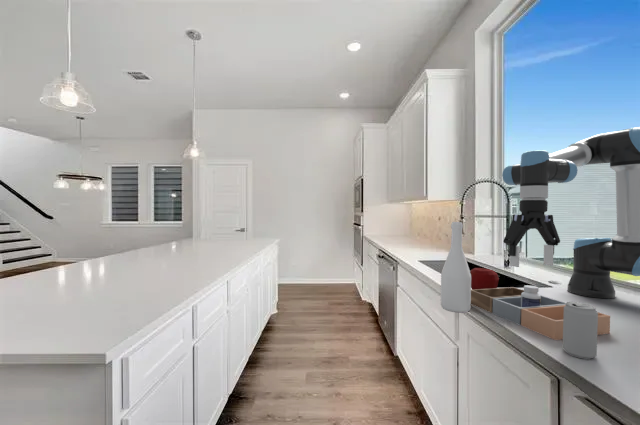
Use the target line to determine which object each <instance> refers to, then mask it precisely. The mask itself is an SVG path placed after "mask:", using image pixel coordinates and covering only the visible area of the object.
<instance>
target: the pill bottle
mask: <svg viewBox="0 0 640 425" xmlns="http://www.w3.org/2000/svg"><path fill="white" fill-rule="evenodd" d="M523 290H524V292H522V293H521V307H531V306H541V296H540V295H541V294H539V291H540V289H539V287H538V286H535V285H528V284H527V285H525V284H524V285H523Z"/></svg>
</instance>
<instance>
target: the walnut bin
mask: <svg viewBox="0 0 640 425" xmlns="http://www.w3.org/2000/svg"><path fill="white" fill-rule="evenodd" d="M522 292H524V289H521V288H518V287H514V286H510V287H509V286H508V287H497V288H491V289H475V290H472V289H471V305H472V306H474V307H476V308H478V309H481V310H483V311H486V312H488V313H490V314H493V298H505V297H519V296H521V293H522Z"/></svg>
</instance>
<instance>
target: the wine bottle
mask: <svg viewBox="0 0 640 425" xmlns="http://www.w3.org/2000/svg"><path fill="white" fill-rule="evenodd" d="M450 228H451V239H450V240H451V242H450V248H449V251H448V254H447V256H446V259H445V262H444V265H443V268H442V270H441V274H440V306H441V308H442V309H443V310H445V311H447V312H450V313H456V314H457V313H458V314H459V313H460V314H462V313H463V314H465V313H468V312H470V310H471V305H472V304H471V290H472V288H471V273H470V271H471V270H470V267H469V264H468V261H467V258H466V255H465V252H464V247H463V228H464V225H463V221H462V222H461V221H451V224H450Z"/></svg>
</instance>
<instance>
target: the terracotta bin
mask: <svg viewBox="0 0 640 425" xmlns="http://www.w3.org/2000/svg"><path fill="white" fill-rule="evenodd" d="M565 306H566V305H561V306H549V307H538V308H526V309H521V325H520V326H522V327H524V328H525V329H529V330H531V331H533V332H535V333H538V334H540V335H542V336H545V337H548V338H550V339H552V340H554V341H558V340H563V316H564V307H565ZM597 313H598V328H597V336H599V335H600V336H601V335H606V334H607V335H608V334H610V333H611V315H609V314H605V313H603V312H598V311H597Z"/></svg>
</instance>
